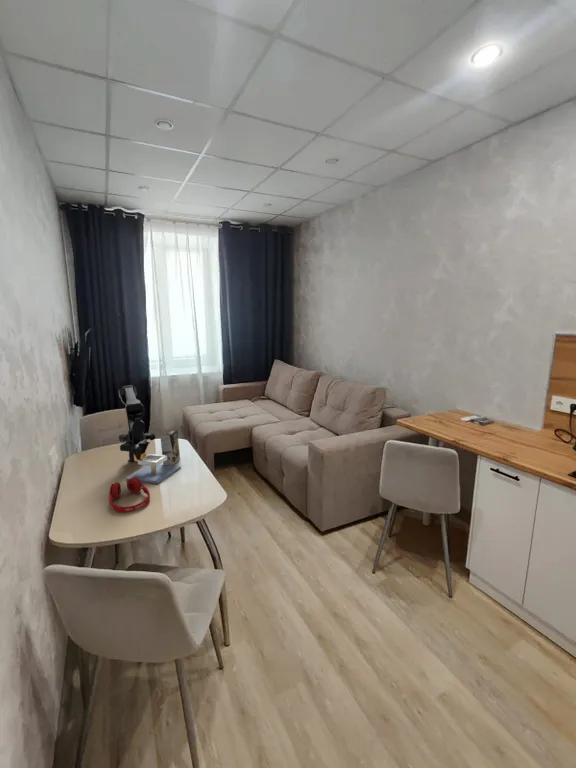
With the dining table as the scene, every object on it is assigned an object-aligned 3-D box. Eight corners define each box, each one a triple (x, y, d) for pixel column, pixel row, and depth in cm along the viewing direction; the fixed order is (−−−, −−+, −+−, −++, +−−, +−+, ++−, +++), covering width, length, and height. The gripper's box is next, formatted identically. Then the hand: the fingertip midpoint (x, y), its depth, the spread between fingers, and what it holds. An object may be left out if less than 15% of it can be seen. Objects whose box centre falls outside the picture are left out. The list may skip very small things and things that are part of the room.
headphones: (105, 496, 156) (116, 522, 141) (103, 482, 154) (114, 506, 139) (141, 486, 165) (155, 509, 149) (140, 472, 162) (154, 494, 147)
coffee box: (175, 464, 189) (172, 434, 186) (162, 465, 189) (159, 435, 186) (180, 458, 198) (177, 429, 195) (168, 458, 198) (165, 429, 195)
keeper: (150, 465, 189) (149, 453, 188) (180, 468, 184) (179, 455, 182) (126, 480, 172) (124, 467, 171) (158, 484, 167) (156, 470, 166)
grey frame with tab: (167, 459, 179) (166, 451, 178) (156, 466, 171) (155, 458, 171) (141, 456, 184) (141, 449, 183) (130, 463, 176) (129, 455, 175)
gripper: (135, 421, 187) (139, 450, 190) (108, 433, 170) (112, 464, 172) (154, 422, 184) (157, 452, 187) (128, 434, 166) (132, 466, 169)
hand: (140, 458), depth 179 cm, fingers closed on grey frame with tab, 2 cm apart
